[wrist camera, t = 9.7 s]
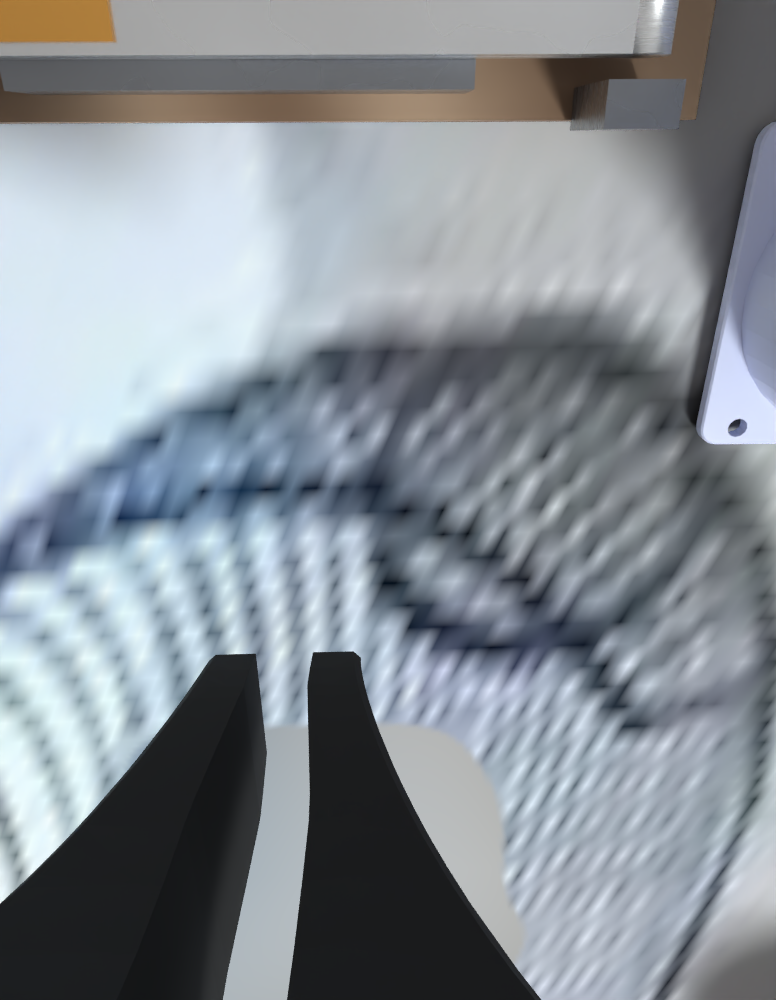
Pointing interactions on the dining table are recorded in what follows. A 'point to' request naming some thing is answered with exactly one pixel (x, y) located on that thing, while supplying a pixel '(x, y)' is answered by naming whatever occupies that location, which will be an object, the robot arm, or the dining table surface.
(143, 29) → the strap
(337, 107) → the board
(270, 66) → the hardware
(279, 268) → the dining table surface
